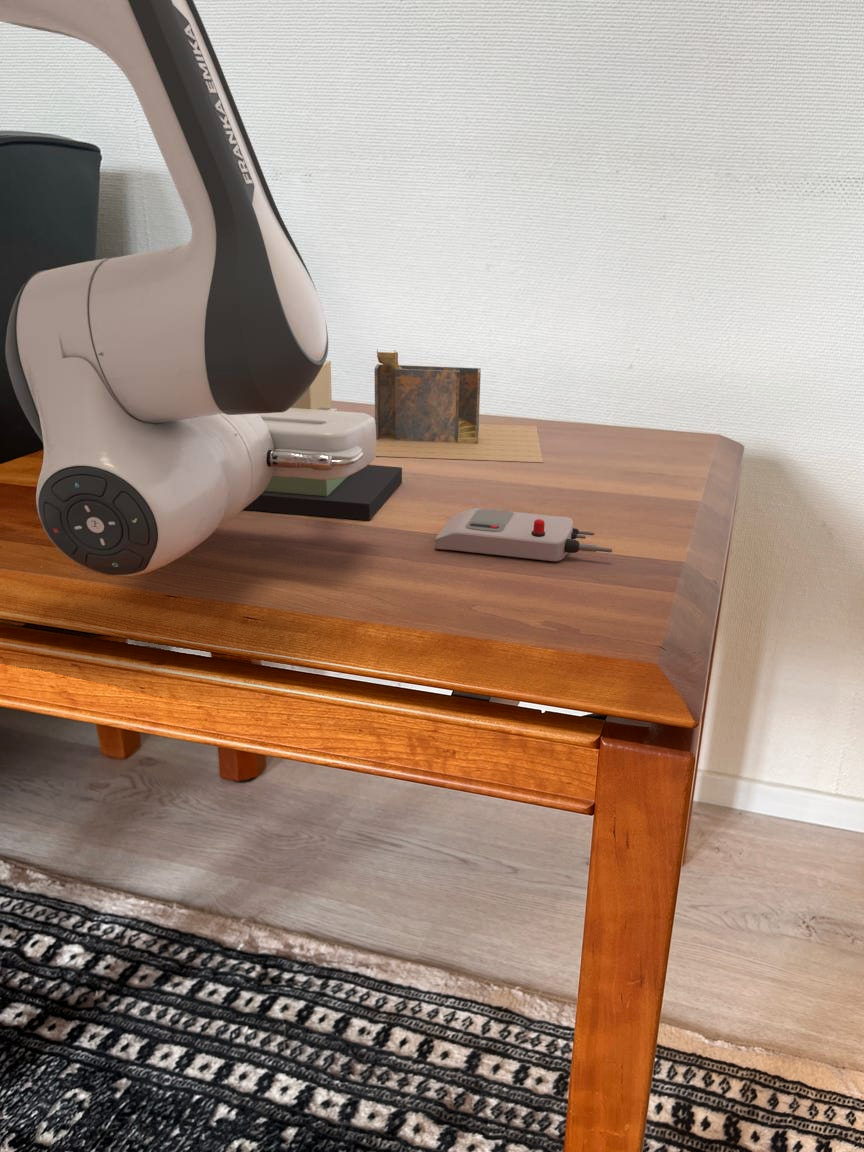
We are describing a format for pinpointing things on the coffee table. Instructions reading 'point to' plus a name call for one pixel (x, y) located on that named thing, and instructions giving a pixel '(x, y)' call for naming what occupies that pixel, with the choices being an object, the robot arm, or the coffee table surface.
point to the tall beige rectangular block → (318, 391)
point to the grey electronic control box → (513, 535)
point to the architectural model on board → (441, 416)
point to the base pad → (331, 494)
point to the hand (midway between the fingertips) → (274, 413)
